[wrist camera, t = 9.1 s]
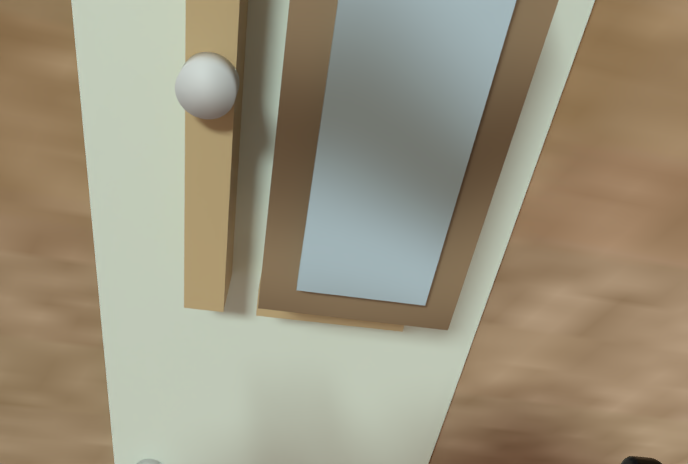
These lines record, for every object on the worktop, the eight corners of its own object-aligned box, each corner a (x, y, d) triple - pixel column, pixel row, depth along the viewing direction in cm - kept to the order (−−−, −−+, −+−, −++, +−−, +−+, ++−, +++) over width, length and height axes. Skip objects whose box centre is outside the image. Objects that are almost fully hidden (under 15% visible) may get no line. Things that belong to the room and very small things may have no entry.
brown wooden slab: (431, 236, 21) (449, 341, 17) (273, 216, 20) (256, 318, 17) (530, -115, 15) (591, -74, 11) (313, -153, 15) (301, -125, 11)
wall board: (121, 494, 30) (101, 560, 27) (48, -345, 13) (-21, -370, 11) (404, 519, 31) (409, 584, 28) (668, -231, 14) (735, -230, 12)
